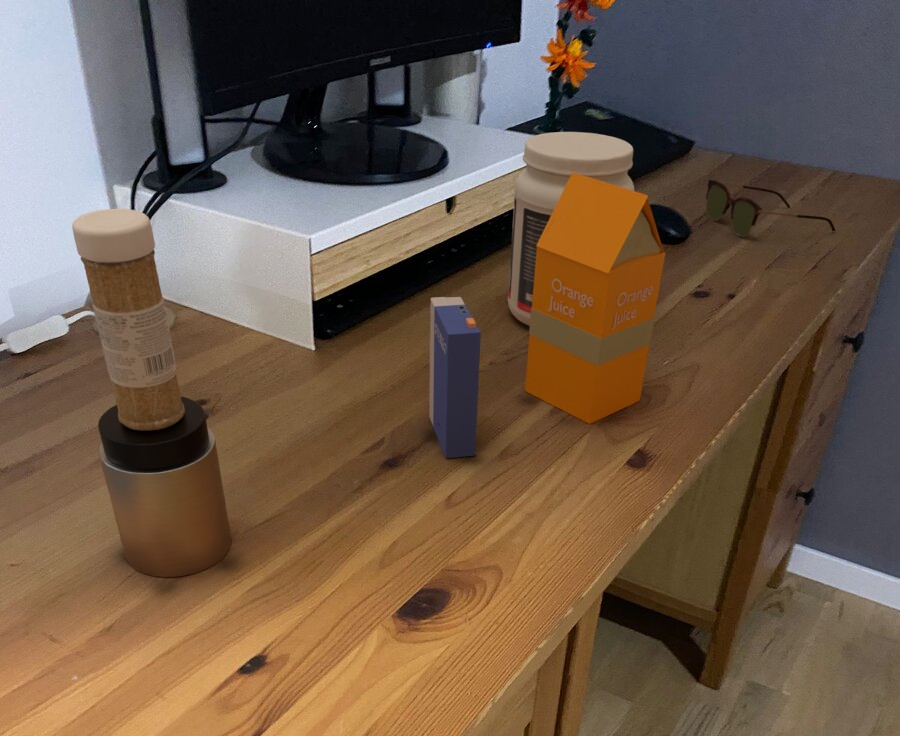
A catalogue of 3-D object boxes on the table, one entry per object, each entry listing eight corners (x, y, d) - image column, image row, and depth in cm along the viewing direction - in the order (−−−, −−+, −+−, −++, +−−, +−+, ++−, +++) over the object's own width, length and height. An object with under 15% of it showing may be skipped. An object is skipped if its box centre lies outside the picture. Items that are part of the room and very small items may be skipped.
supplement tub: (638, 328, 104) (667, 154, 92) (541, 346, 100) (557, 166, 88) (579, 288, 113) (598, 125, 101) (487, 303, 108) (495, 134, 97)
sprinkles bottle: (167, 396, 66) (130, 201, 57) (197, 421, 63) (162, 220, 55) (107, 414, 64) (58, 214, 55) (135, 441, 61) (88, 235, 52)
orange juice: (575, 369, 95) (600, 164, 83) (641, 400, 90) (678, 187, 78) (522, 391, 91) (540, 179, 79) (588, 425, 86) (618, 204, 74)
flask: (103, 565, 68) (67, 436, 61) (160, 508, 74) (132, 384, 67) (199, 587, 67) (173, 456, 60) (249, 526, 72) (231, 401, 65)
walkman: (475, 456, 82) (481, 327, 74) (445, 459, 81) (448, 330, 73) (457, 414, 87) (461, 291, 80) (428, 416, 87) (429, 293, 79)
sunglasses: (699, 212, 137) (708, 176, 134) (781, 213, 142) (792, 179, 139) (750, 243, 127) (761, 206, 124) (838, 244, 131) (851, 207, 128)
